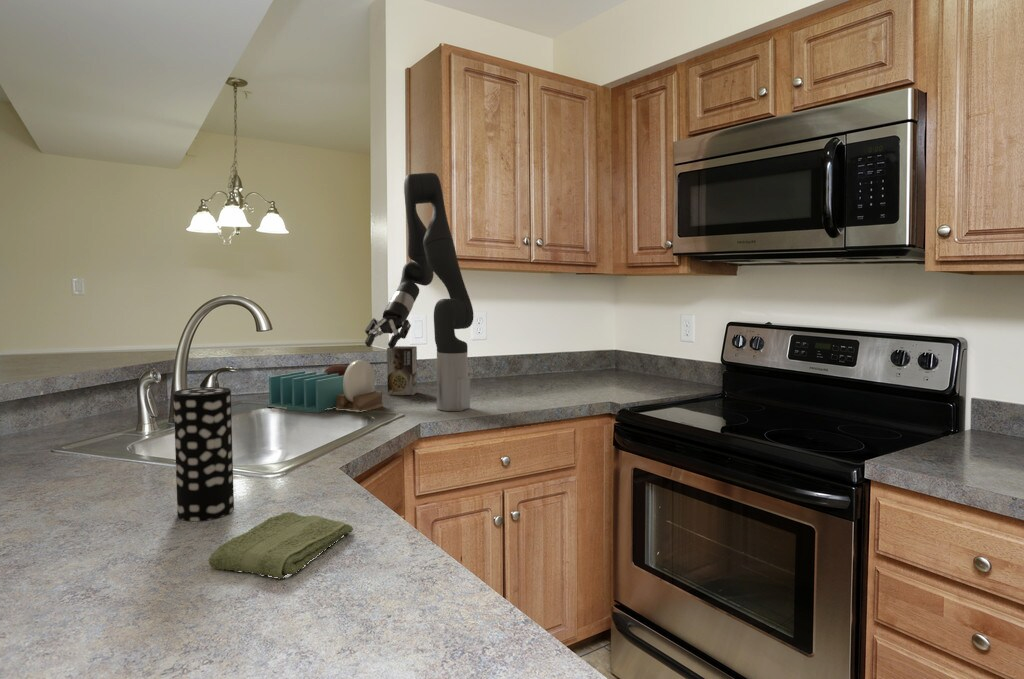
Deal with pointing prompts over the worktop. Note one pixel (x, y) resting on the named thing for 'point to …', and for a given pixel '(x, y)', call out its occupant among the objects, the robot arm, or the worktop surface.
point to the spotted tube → (203, 453)
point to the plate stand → (361, 401)
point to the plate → (358, 379)
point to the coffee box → (402, 370)
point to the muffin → (336, 369)
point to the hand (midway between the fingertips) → (378, 346)
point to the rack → (305, 391)
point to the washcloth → (279, 545)
